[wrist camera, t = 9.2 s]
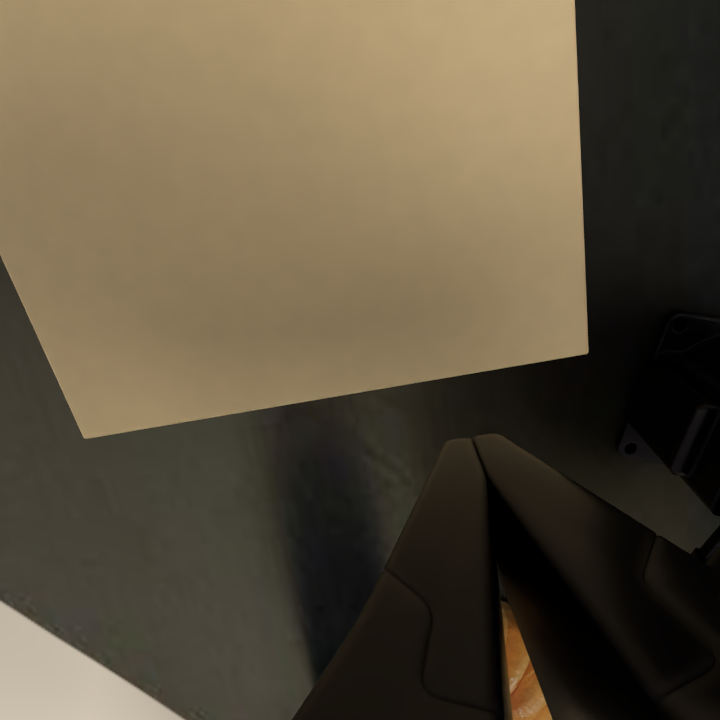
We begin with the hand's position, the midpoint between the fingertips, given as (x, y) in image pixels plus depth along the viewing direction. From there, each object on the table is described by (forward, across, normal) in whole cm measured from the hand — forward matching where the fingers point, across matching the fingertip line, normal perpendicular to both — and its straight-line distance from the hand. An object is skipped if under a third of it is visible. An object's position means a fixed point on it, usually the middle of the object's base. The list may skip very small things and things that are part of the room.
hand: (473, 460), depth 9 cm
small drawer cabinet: (+13, +3, -7) cm, 15 cm away
